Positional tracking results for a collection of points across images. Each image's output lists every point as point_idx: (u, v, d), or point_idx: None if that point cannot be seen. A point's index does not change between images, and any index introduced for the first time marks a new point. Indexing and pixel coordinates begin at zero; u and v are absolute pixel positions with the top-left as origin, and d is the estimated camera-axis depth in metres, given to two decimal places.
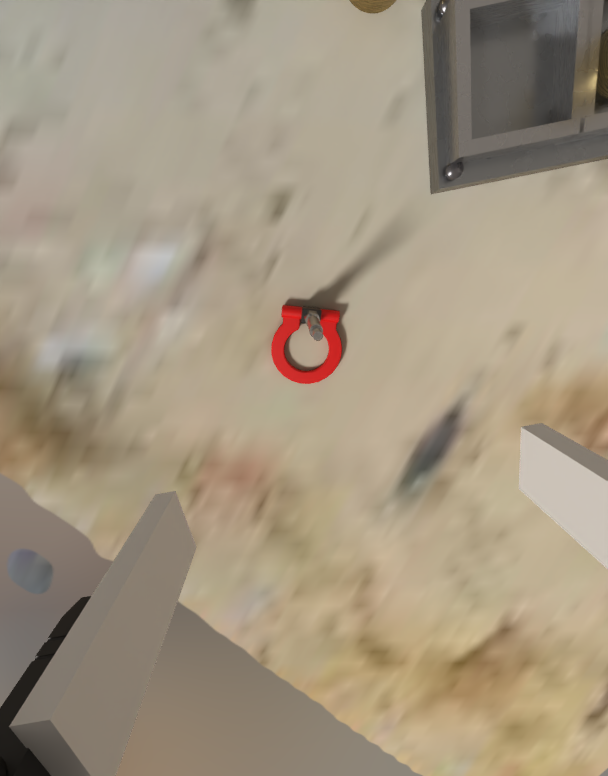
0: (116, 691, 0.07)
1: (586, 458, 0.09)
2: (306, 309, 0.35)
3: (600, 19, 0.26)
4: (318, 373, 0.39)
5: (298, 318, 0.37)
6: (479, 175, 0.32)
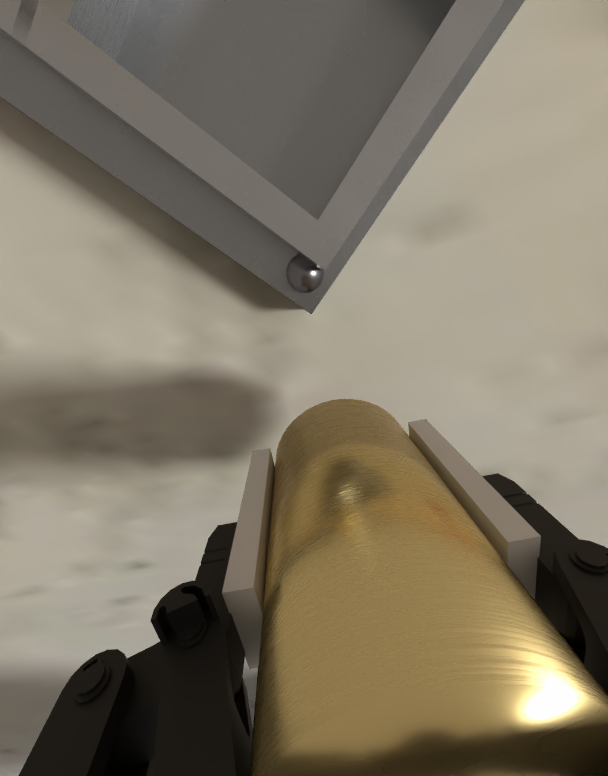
0: None
1: (440, 447, 0.11)
2: None
3: None
4: None
5: None
6: None
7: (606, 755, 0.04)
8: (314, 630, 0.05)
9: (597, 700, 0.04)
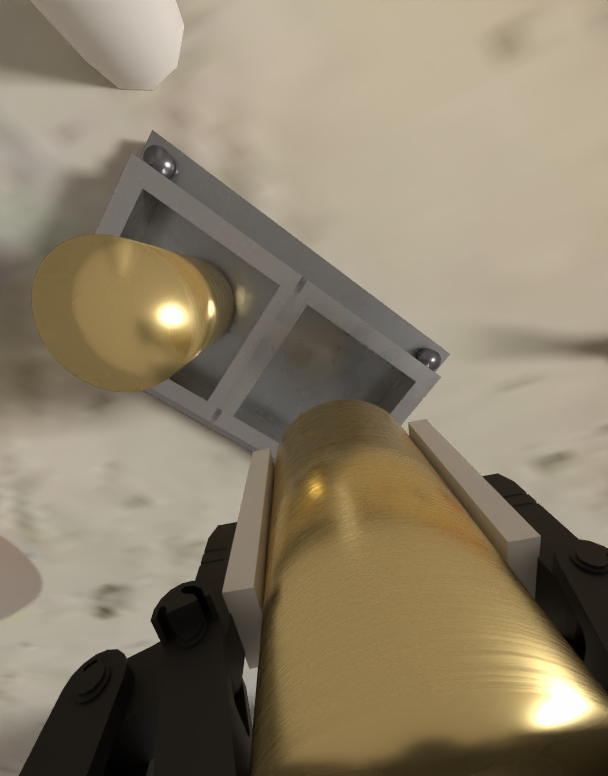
0: None
1: (440, 447, 0.11)
2: None
3: (227, 373, 0.21)
4: None
5: None
6: (404, 328, 0.23)
7: None
8: (314, 636, 0.05)
9: (604, 708, 0.04)
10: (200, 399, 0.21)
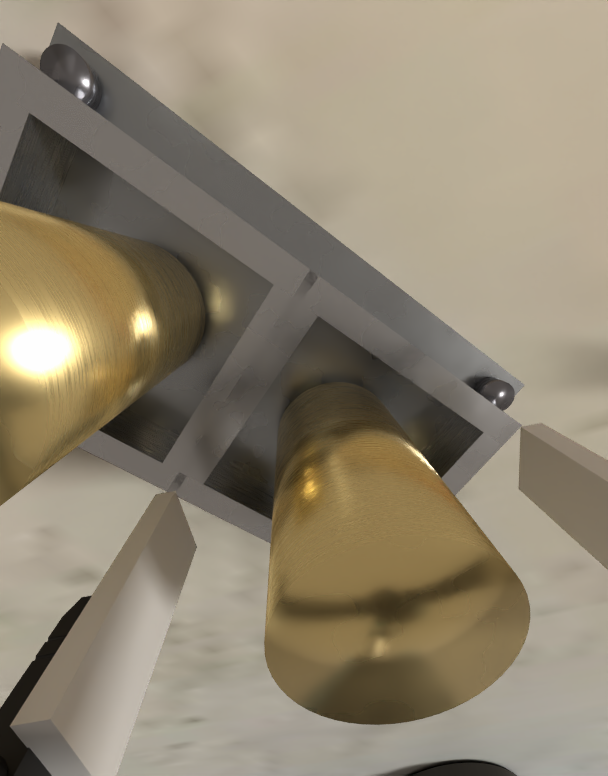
0: (116, 691, 0.07)
1: (586, 458, 0.09)
2: None
3: (192, 422, 0.13)
4: None
5: None
6: (459, 348, 0.15)
7: (500, 594, 0.07)
8: (309, 524, 0.07)
9: (489, 550, 0.06)
10: (152, 461, 0.14)
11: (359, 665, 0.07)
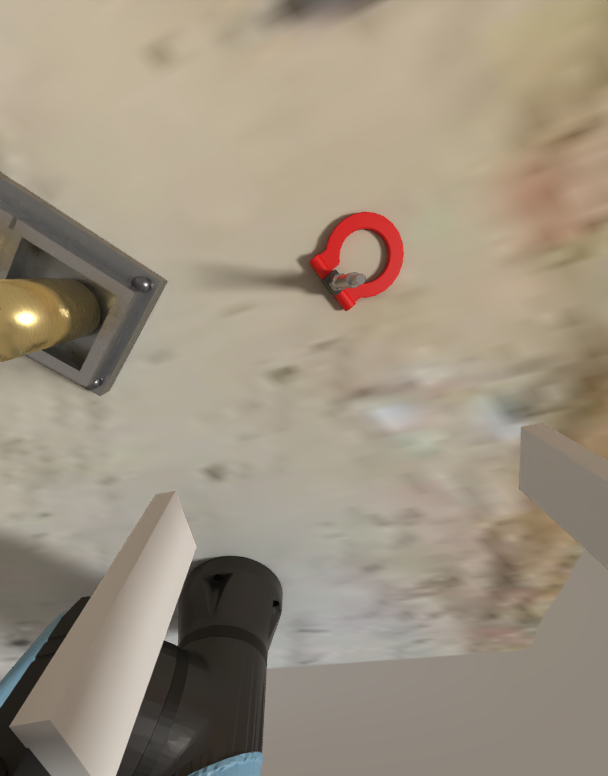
0: (116, 691, 0.07)
1: (586, 458, 0.09)
2: (333, 292, 0.33)
3: None
4: (375, 224, 0.33)
5: (345, 289, 0.35)
6: (120, 260, 0.32)
7: (8, 303, 0.23)
8: None
9: None
10: None
11: None
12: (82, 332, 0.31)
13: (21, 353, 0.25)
